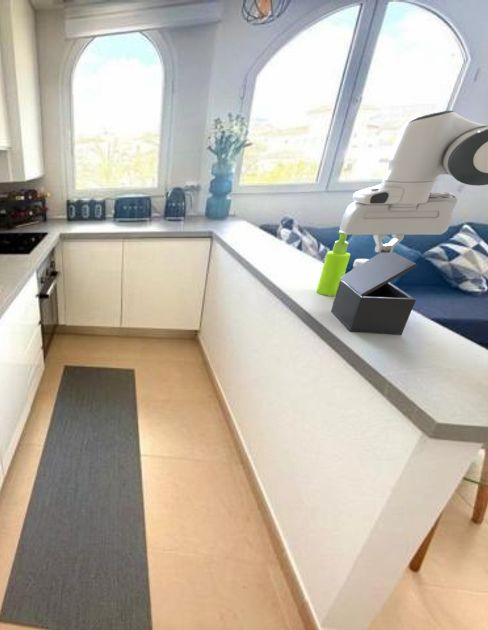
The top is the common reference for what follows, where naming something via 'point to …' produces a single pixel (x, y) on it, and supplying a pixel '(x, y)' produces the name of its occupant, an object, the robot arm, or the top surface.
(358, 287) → the box lid
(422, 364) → the top surface
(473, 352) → the top surface
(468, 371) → the top surface
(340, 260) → the soap dispenser
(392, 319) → the grey box
